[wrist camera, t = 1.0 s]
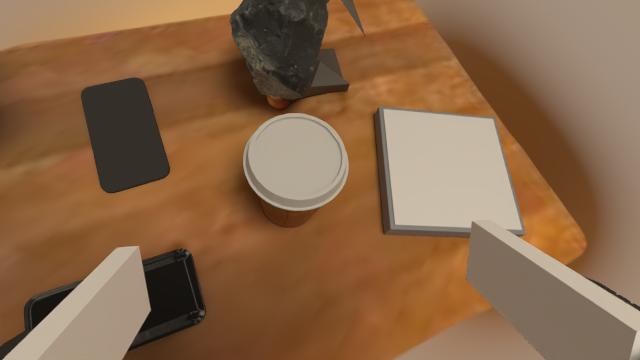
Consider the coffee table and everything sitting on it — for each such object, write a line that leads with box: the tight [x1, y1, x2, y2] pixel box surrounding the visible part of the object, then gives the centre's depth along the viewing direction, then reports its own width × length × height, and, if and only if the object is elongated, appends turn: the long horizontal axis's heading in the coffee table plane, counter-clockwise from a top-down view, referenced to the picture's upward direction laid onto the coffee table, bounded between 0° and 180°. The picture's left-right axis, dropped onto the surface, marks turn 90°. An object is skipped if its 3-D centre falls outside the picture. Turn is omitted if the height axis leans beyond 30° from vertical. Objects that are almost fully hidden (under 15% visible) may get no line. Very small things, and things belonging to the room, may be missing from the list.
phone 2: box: [24, 249, 206, 352], centre depth 32 cm, size 8×1×15 cm
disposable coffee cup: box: [243, 113, 349, 228], centre depth 34 cm, size 10×10×12 cm
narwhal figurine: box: [230, 0, 365, 109], centre depth 39 cm, size 14×15×18 cm
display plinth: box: [374, 106, 526, 238], centre depth 44 cm, size 17×17×2 cm
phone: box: [81, 78, 170, 193], centre depth 40 cm, size 7×1×15 cm
